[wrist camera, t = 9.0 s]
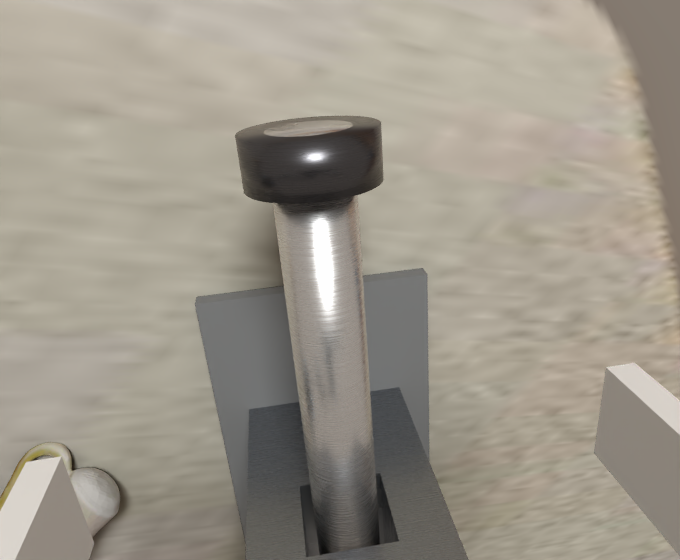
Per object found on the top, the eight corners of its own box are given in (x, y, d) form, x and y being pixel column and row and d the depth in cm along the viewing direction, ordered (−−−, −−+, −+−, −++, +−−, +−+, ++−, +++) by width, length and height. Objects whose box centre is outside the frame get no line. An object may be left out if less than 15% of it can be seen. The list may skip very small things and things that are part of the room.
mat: (253, 568, 43) (253, 580, 42) (196, 296, 33) (195, 304, 32) (426, 538, 44) (430, 549, 43) (422, 268, 34) (427, 274, 33)
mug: (160, 480, 39) (99, 647, 32) (71, 485, 43) (2, 633, 37) (78, 433, 34) (-12, 618, 28) (-12, 444, 38) (-108, 606, 32)
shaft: (301, 547, 32) (309, 637, 27) (237, 124, 22) (231, 149, 17) (389, 533, 32) (411, 618, 27) (366, 111, 22) (395, 132, 17)
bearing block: (265, 489, 40) (269, 716, 27) (249, 399, 36) (244, 609, 23) (399, 467, 41) (467, 677, 27) (395, 378, 37) (471, 568, 24)
